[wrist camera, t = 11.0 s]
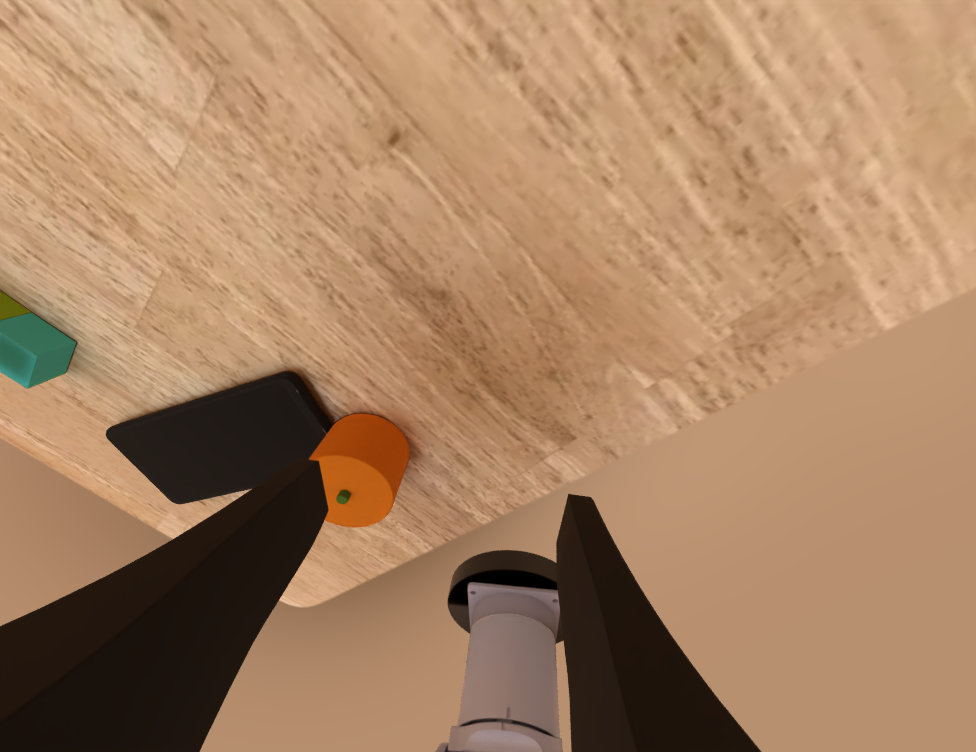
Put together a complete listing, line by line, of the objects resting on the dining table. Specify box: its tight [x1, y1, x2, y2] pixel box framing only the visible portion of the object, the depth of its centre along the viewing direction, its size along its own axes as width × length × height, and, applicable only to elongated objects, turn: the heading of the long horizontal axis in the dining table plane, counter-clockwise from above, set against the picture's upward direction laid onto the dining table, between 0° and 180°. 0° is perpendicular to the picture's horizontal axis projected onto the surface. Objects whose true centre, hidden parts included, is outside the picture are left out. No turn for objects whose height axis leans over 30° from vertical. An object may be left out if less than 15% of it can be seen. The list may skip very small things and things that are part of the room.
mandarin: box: [309, 414, 410, 527], centre depth 20 cm, size 5×5×4 cm
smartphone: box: [106, 371, 332, 504], centre depth 23 cm, size 7×1×15 cm
